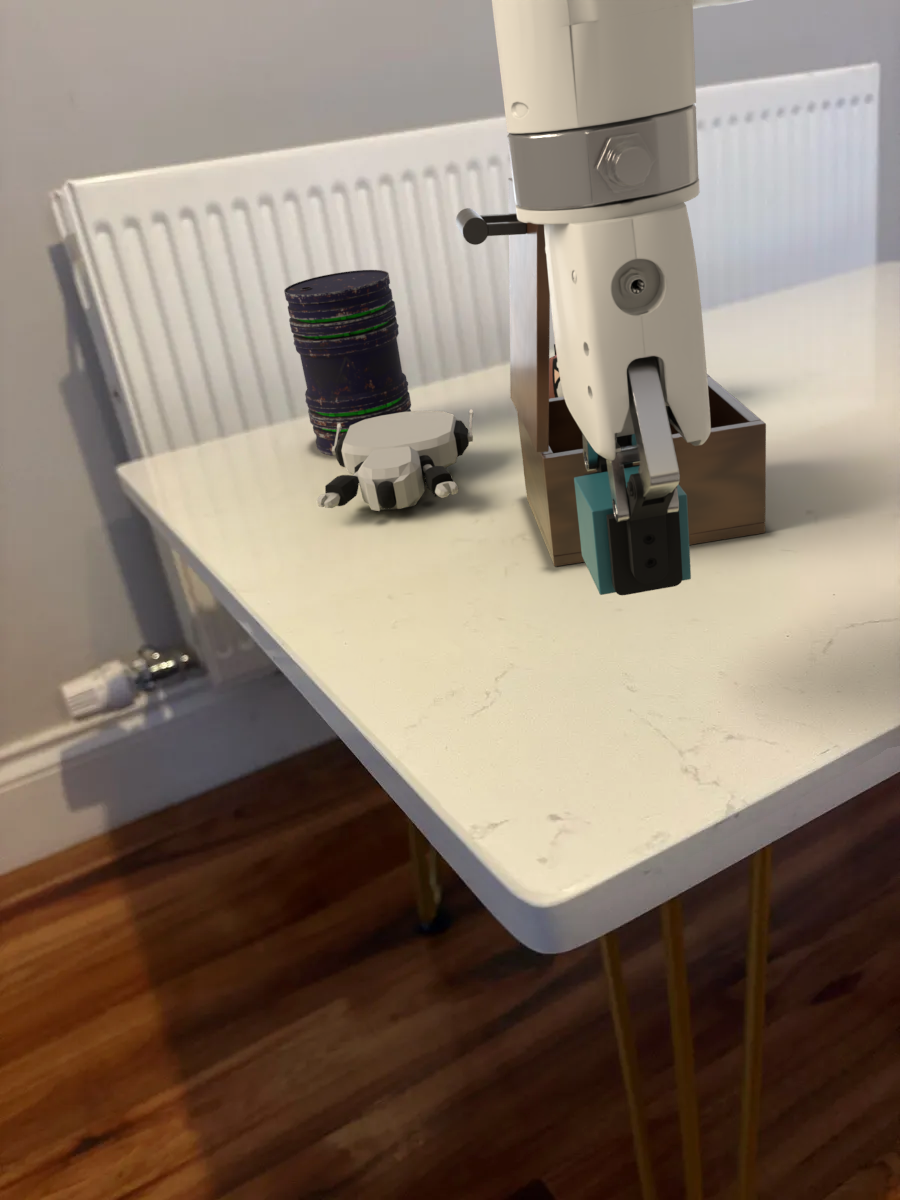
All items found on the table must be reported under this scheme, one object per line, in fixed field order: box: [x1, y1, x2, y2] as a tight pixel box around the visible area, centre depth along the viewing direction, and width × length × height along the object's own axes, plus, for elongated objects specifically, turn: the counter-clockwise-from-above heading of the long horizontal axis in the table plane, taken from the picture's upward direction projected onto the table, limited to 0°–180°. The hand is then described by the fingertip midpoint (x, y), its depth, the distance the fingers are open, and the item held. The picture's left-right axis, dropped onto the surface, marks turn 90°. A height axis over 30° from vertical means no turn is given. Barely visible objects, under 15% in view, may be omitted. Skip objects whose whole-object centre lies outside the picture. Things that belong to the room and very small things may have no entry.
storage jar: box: [283, 269, 412, 456], centre depth 97 cm, size 10×10×15 cm
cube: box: [574, 466, 692, 596], centre depth 50 cm, size 4×4×4 cm
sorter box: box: [516, 373, 767, 567], centre depth 74 cm, size 15×13×8 cm
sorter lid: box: [455, 177, 551, 452], centre depth 68 cm, size 15×13×5 cm
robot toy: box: [316, 408, 474, 512], centre depth 86 cm, size 12×4×15 cm
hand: (634, 560), depth 50 cm, fingers closed on cube, 4 cm apart
